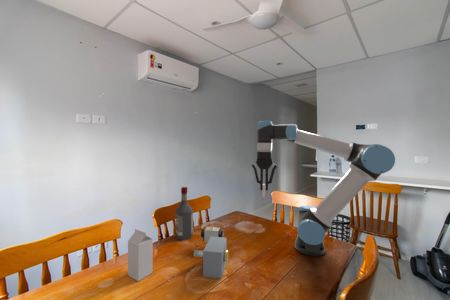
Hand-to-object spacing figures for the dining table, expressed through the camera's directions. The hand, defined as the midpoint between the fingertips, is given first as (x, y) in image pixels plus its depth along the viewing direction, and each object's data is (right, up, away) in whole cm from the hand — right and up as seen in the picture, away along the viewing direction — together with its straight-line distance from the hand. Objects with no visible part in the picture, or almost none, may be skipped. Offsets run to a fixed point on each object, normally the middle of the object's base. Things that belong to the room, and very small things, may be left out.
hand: (263, 196), depth 107 cm
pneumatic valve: (-27, -29, +5) cm, 40 cm away
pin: (-27, -26, -13) cm, 39 cm away
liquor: (-45, -29, +19) cm, 57 cm away
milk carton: (-57, -30, -18) cm, 66 cm away
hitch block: (-25, -30, -13) cm, 40 cm away
